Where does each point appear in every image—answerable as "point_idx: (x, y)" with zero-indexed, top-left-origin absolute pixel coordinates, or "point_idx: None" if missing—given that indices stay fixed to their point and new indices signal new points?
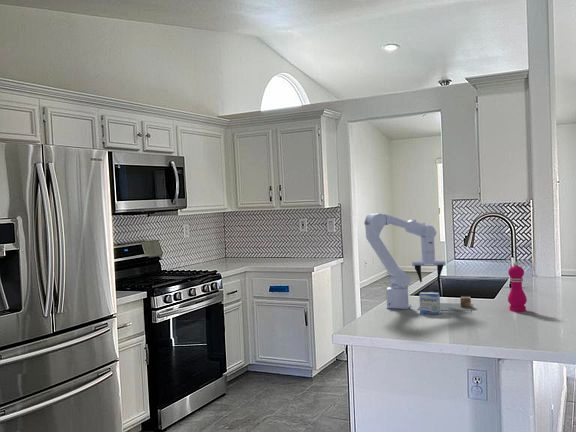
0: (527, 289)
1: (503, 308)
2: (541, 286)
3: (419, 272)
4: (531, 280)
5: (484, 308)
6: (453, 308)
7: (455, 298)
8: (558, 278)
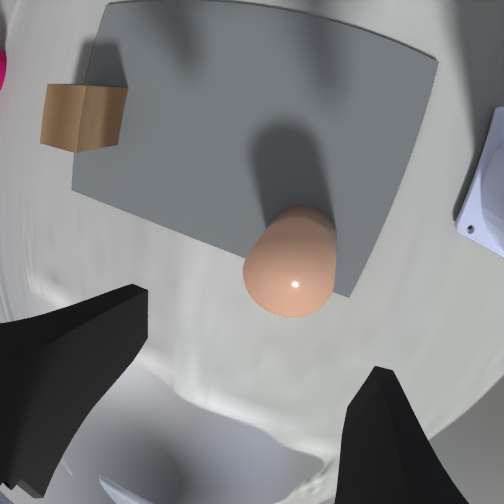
0: None
1: (10, 99)
2: None
3: (425, 500)
4: None
5: None
6: (173, 53)
7: (141, 355)
8: None
